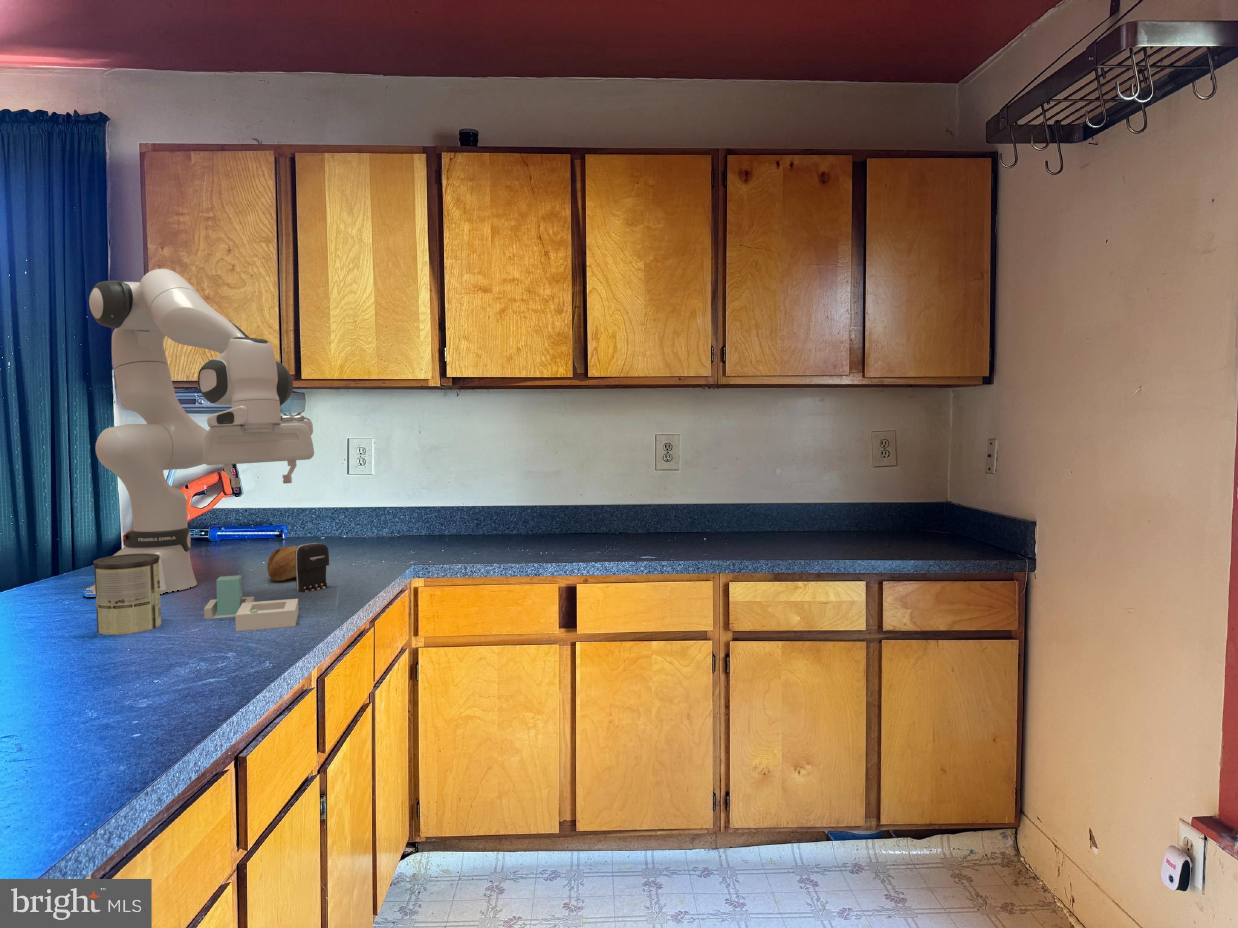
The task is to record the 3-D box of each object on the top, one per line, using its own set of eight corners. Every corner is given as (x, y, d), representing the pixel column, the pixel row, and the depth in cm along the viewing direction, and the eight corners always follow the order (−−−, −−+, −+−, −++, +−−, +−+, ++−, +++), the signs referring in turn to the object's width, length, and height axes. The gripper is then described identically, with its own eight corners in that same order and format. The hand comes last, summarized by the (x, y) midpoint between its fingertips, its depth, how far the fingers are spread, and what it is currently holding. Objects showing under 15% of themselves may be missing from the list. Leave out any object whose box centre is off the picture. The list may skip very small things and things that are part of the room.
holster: (204, 623, 146) (203, 608, 146) (211, 614, 153) (210, 599, 153) (249, 620, 149) (249, 605, 148) (254, 610, 156) (254, 596, 156)
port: (236, 636, 137) (235, 612, 137) (243, 623, 146) (242, 600, 146) (295, 631, 140) (294, 608, 140) (298, 618, 150) (298, 596, 150)
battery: (304, 597, 168) (302, 547, 168) (294, 595, 170) (293, 545, 170) (332, 591, 174) (331, 543, 173) (323, 589, 176) (321, 541, 175)
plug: (217, 615, 148) (216, 580, 148) (220, 610, 152) (219, 576, 152) (239, 613, 150) (238, 578, 149) (242, 609, 153) (241, 575, 153)
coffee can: (88, 633, 139) (85, 558, 138) (150, 622, 147) (147, 551, 146) (107, 644, 133) (104, 565, 132) (171, 631, 141) (168, 557, 140)
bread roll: (255, 583, 184) (254, 551, 184) (292, 571, 199) (291, 541, 198) (291, 584, 182) (290, 552, 182) (325, 572, 197) (324, 542, 197)
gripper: (309, 416, 159) (314, 481, 159) (198, 420, 148) (204, 489, 148) (314, 413, 154) (319, 480, 153) (200, 416, 143) (206, 489, 143)
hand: (262, 485), depth 151 cm, fingers open, 8 cm apart
